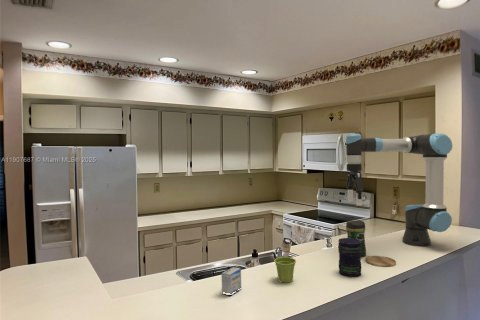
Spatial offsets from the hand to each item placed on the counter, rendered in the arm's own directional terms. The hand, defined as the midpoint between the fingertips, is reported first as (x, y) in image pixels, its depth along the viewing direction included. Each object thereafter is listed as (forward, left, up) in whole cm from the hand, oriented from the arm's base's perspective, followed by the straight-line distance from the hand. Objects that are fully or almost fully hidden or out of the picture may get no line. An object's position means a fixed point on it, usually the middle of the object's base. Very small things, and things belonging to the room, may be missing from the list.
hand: (354, 203), depth 170 cm
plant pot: (+48, +20, -28) cm, 59 cm away
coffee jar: (-1, -1, -28) cm, 28 cm away
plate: (-6, +12, -28) cm, 31 cm away
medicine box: (+73, +25, -28) cm, 82 cm away
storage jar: (+17, +21, -28) cm, 39 cm away
